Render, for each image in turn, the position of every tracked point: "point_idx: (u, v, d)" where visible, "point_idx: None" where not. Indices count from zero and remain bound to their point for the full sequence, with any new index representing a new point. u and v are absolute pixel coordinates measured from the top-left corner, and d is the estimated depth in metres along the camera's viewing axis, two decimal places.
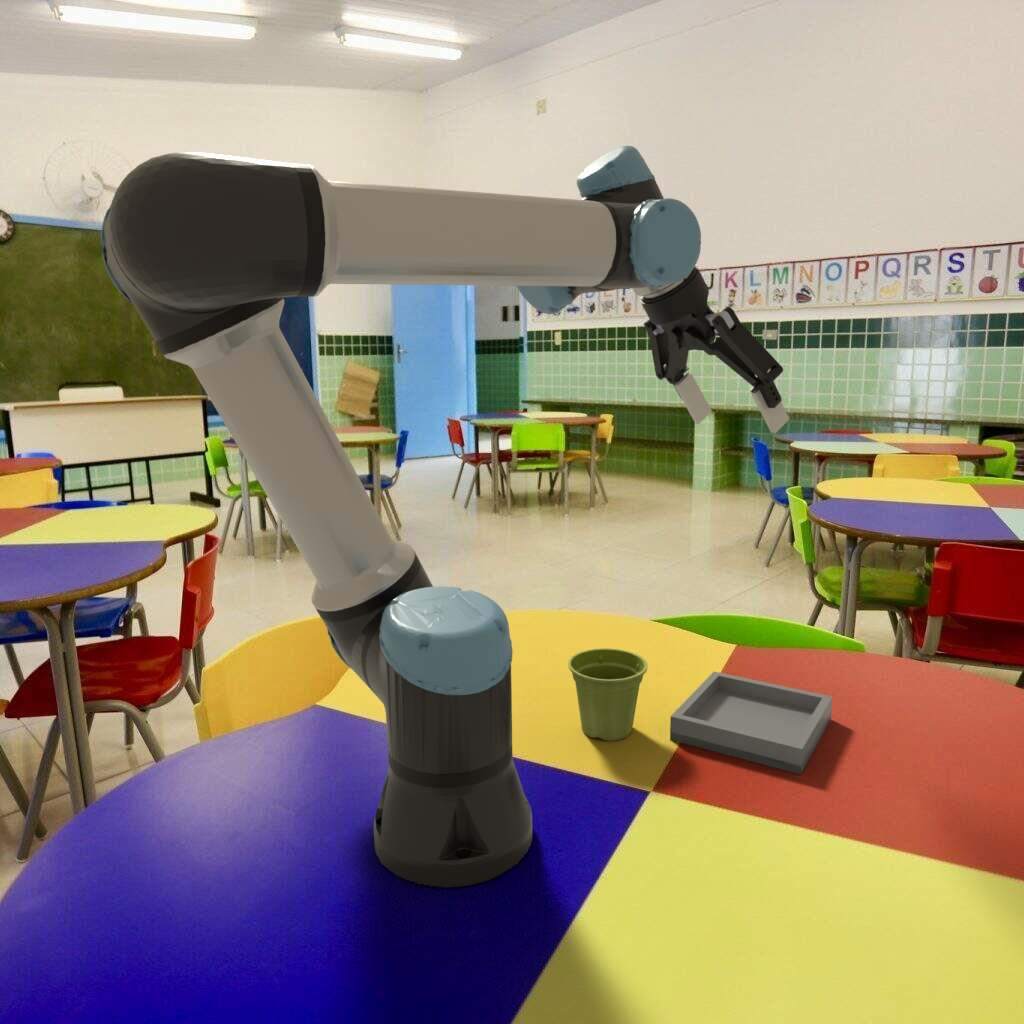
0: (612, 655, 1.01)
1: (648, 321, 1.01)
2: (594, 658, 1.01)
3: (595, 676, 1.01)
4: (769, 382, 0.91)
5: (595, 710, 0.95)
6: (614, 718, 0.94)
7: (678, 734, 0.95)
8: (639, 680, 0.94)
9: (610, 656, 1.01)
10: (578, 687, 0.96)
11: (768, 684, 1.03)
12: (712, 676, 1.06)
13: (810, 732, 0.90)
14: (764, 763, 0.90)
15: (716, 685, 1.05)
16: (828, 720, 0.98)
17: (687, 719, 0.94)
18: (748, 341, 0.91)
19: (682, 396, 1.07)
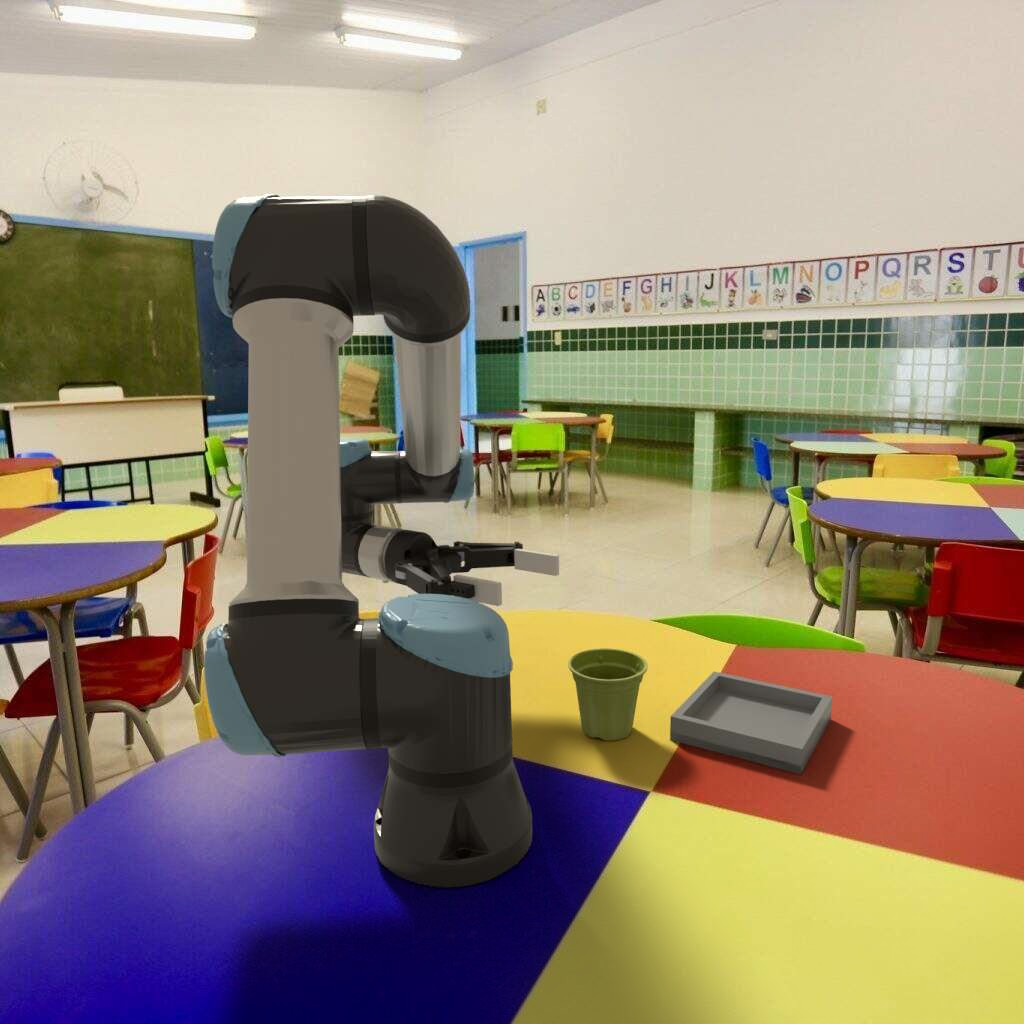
0: (612, 655, 1.01)
1: None
2: (594, 658, 1.01)
3: (595, 676, 1.01)
4: None
5: (595, 710, 0.95)
6: (614, 718, 0.94)
7: (678, 734, 0.95)
8: (639, 680, 0.94)
9: (610, 656, 1.01)
10: (578, 687, 0.96)
11: (768, 684, 1.03)
12: (712, 676, 1.06)
13: (810, 732, 0.90)
14: (764, 763, 0.90)
15: (716, 685, 1.05)
16: (828, 720, 0.98)
17: (687, 719, 0.94)
18: None
19: (467, 577, 0.97)
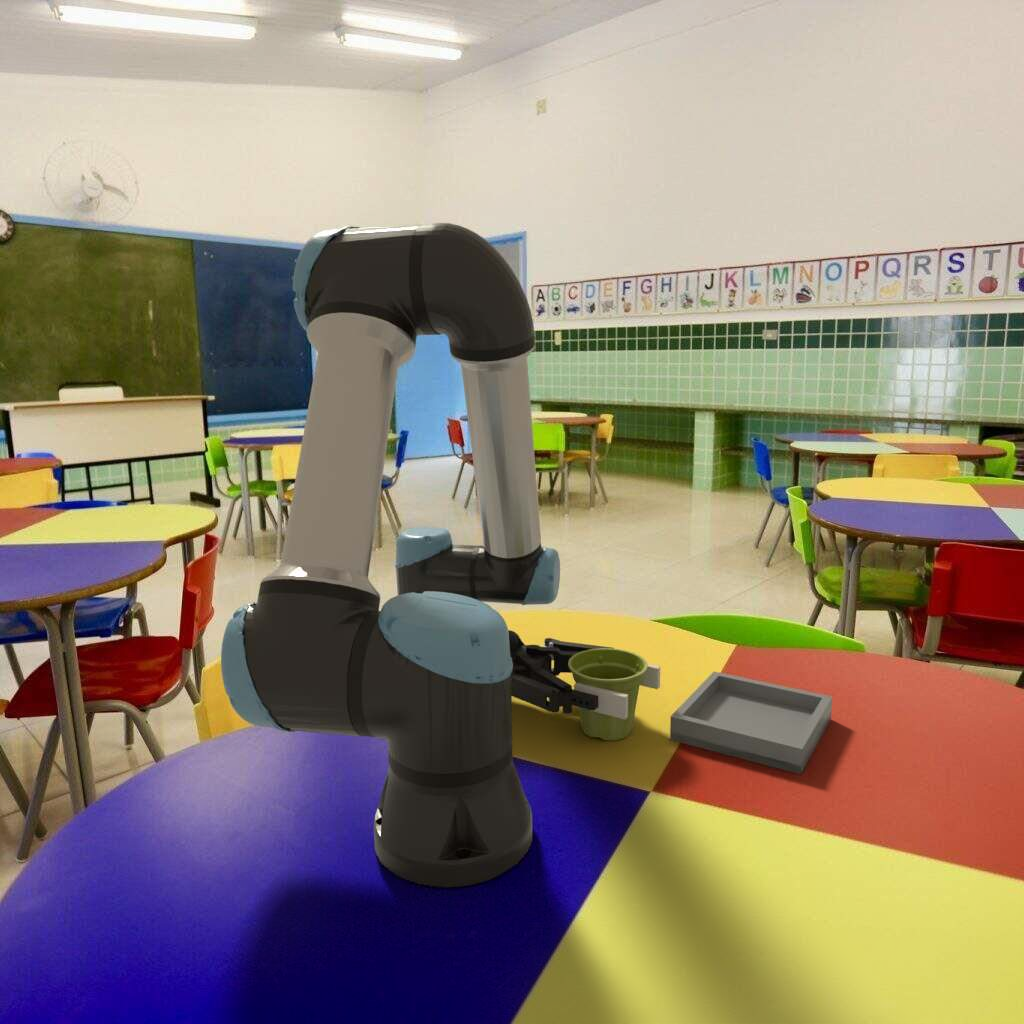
0: (612, 655, 1.01)
1: None
2: (594, 657, 1.01)
3: (595, 676, 1.01)
4: (613, 648, 1.05)
5: None
6: (614, 718, 0.94)
7: (678, 734, 0.95)
8: (639, 680, 0.94)
9: (610, 656, 1.01)
10: None
11: (768, 684, 1.03)
12: (712, 676, 1.06)
13: (810, 732, 0.90)
14: (764, 763, 0.90)
15: (716, 685, 1.05)
16: (828, 720, 0.98)
17: (687, 719, 0.94)
18: None
19: (589, 686, 0.93)
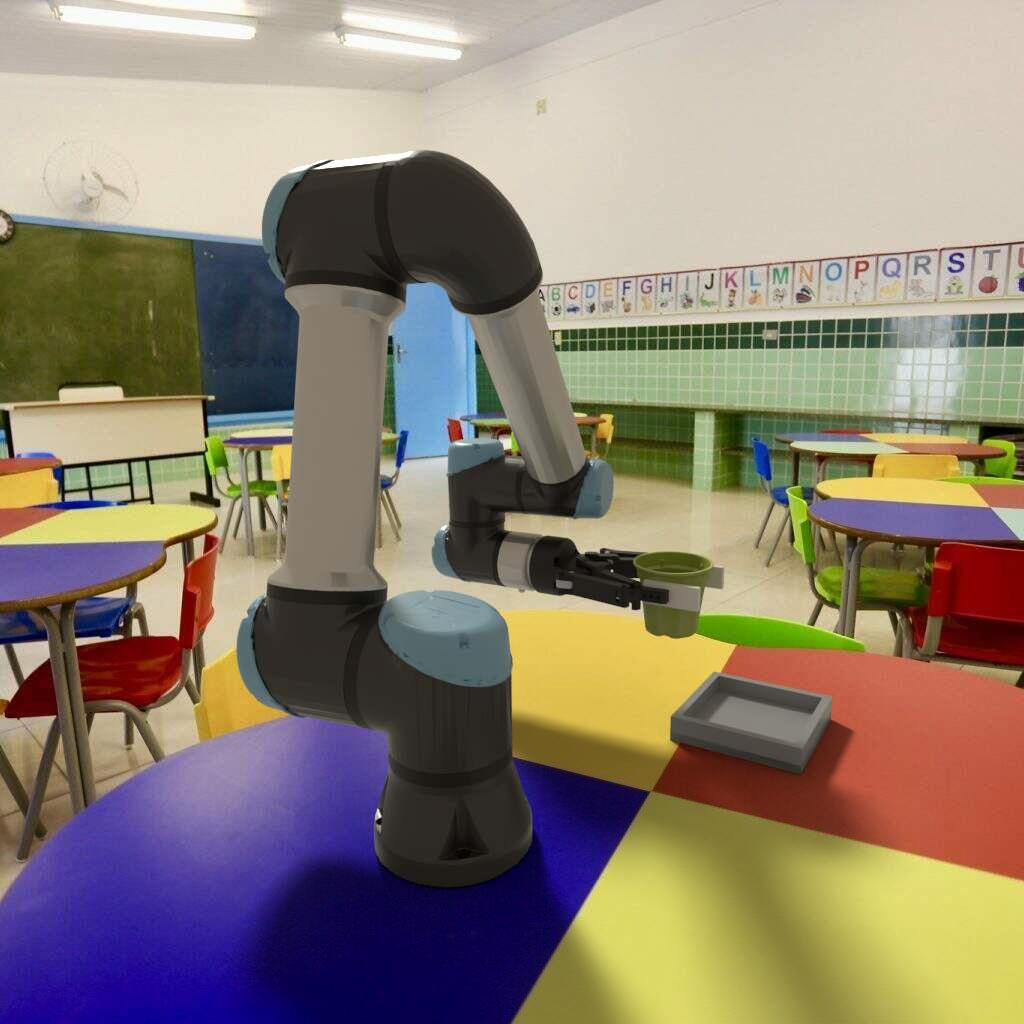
0: (673, 558, 1.00)
1: None
2: (655, 560, 1.00)
3: None
4: None
5: (662, 607, 0.94)
6: (682, 615, 0.93)
7: (678, 734, 0.95)
8: (707, 576, 0.94)
9: (671, 559, 1.00)
10: None
11: (768, 684, 1.03)
12: (712, 676, 1.06)
13: (810, 732, 0.90)
14: (764, 763, 0.90)
15: (716, 685, 1.05)
16: (828, 720, 0.98)
17: (687, 719, 0.94)
18: None
19: (659, 581, 0.92)
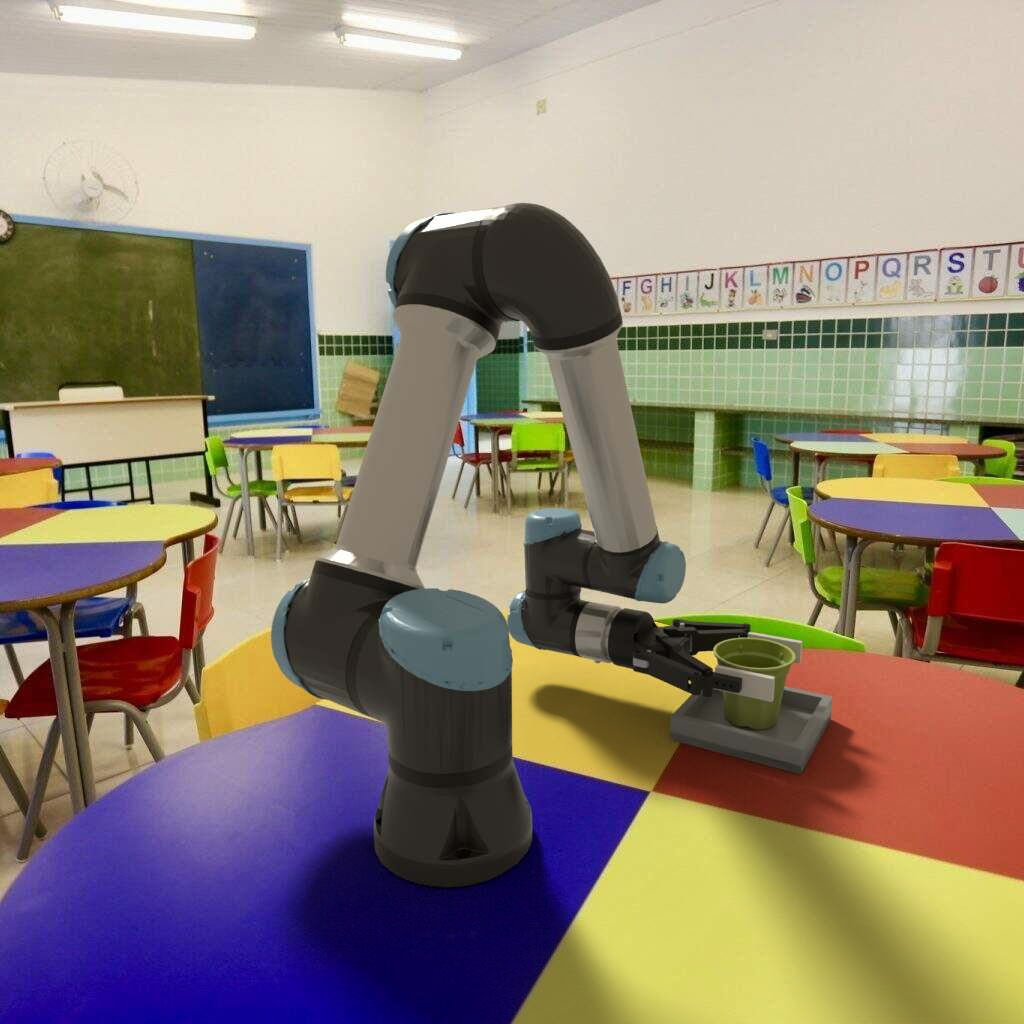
0: (752, 644, 1.00)
1: None
2: (734, 647, 1.00)
3: None
4: None
5: (744, 699, 0.94)
6: (764, 707, 0.94)
7: (678, 734, 0.95)
8: (789, 668, 0.94)
9: (750, 646, 1.00)
10: None
11: None
12: None
13: (810, 732, 0.90)
14: (764, 763, 0.90)
15: None
16: (828, 720, 0.98)
17: (687, 719, 0.94)
18: None
19: (732, 669, 0.91)
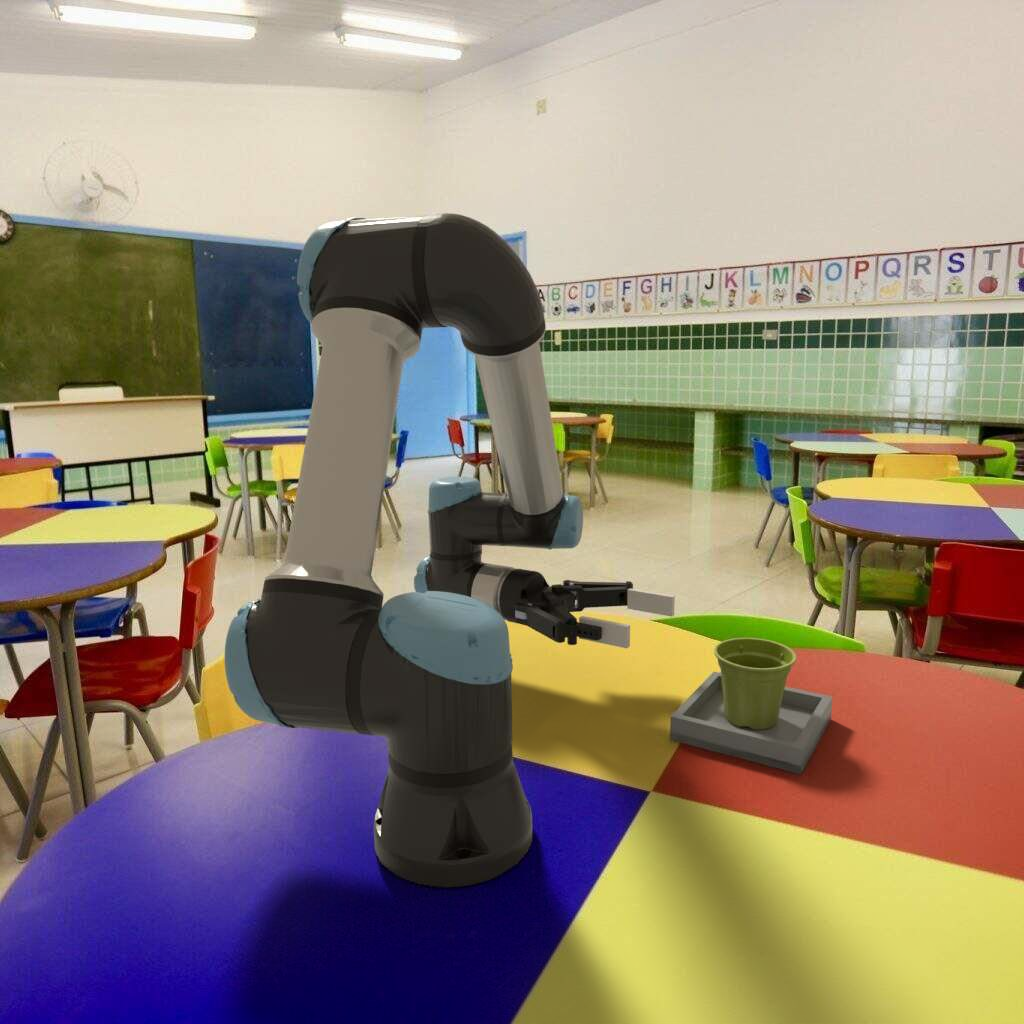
0: (752, 645, 1.00)
1: None
2: (735, 647, 1.00)
3: None
4: None
5: (745, 699, 0.94)
6: (764, 707, 0.94)
7: (678, 734, 0.95)
8: (789, 669, 0.94)
9: (750, 646, 1.00)
10: (726, 676, 0.95)
11: None
12: (712, 676, 1.06)
13: (810, 732, 0.90)
14: (764, 763, 0.90)
15: (716, 685, 1.05)
16: (828, 720, 0.98)
17: (687, 719, 0.94)
18: None
19: (594, 619, 0.98)
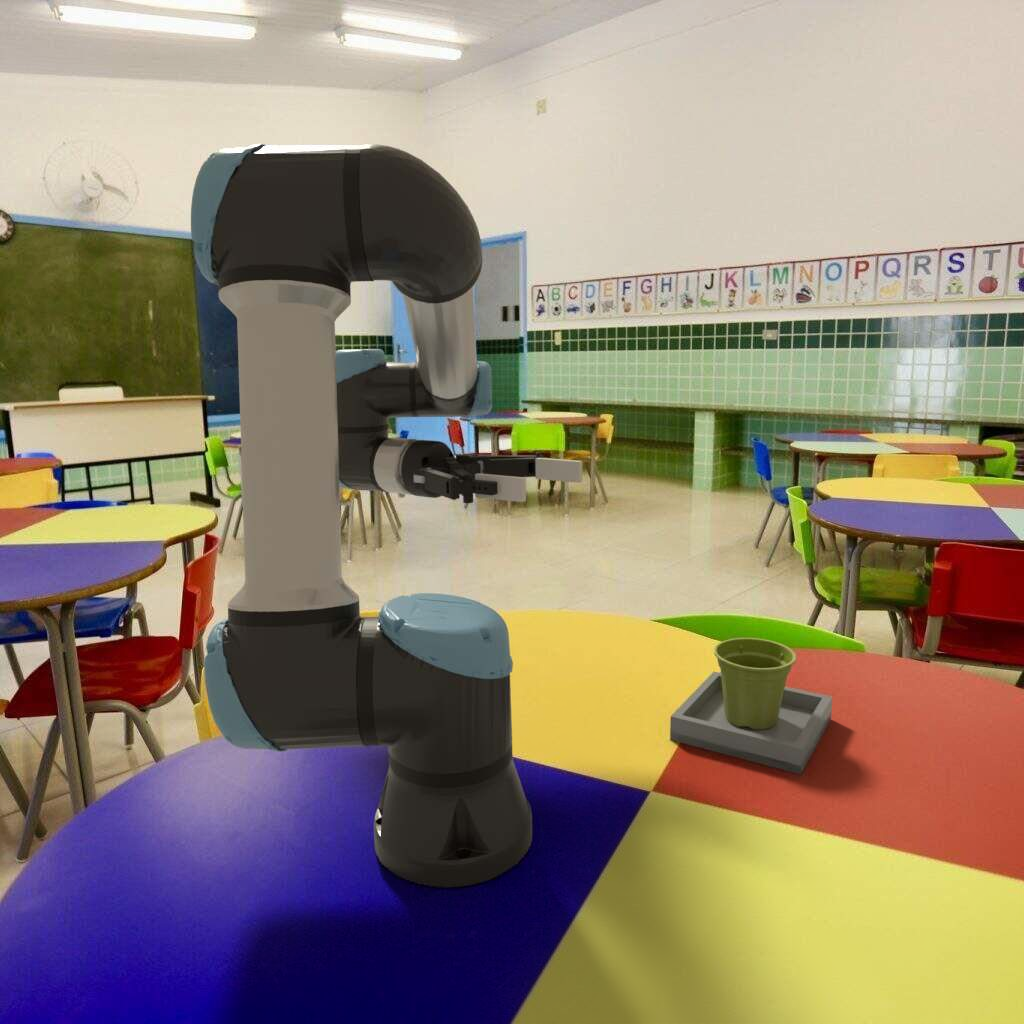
0: (752, 645, 1.00)
1: None
2: (734, 647, 1.00)
3: None
4: (541, 455, 1.09)
5: (745, 699, 0.94)
6: (764, 707, 0.94)
7: (678, 734, 0.95)
8: (789, 669, 0.94)
9: (750, 646, 1.00)
10: (726, 676, 0.95)
11: None
12: (712, 676, 1.06)
13: (810, 732, 0.90)
14: (764, 763, 0.90)
15: (716, 685, 1.05)
16: (828, 720, 0.98)
17: (687, 719, 0.94)
18: None
19: (489, 474, 0.93)
